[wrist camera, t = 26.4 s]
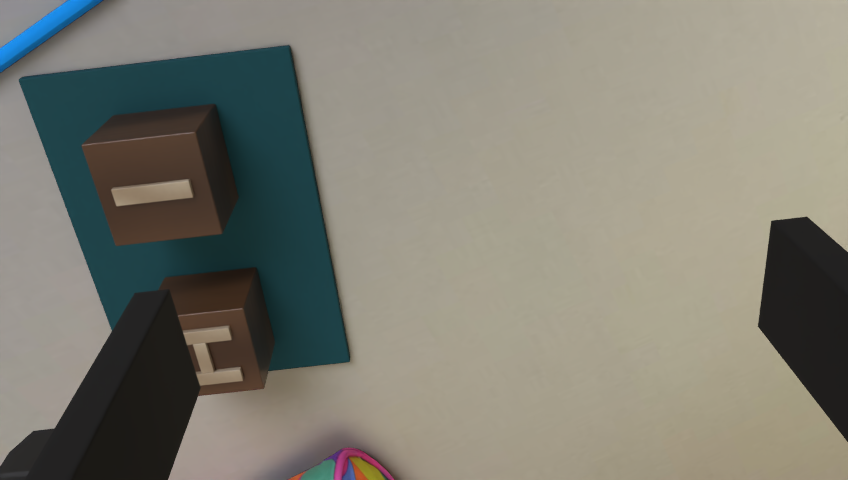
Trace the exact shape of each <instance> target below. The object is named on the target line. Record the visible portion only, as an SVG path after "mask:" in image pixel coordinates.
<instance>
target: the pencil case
mask: <svg viewBox="0 0 848 480" xmlns="http://www.w3.org/2000/svg"><path fill="white" fill-rule="evenodd" d="M288 480H394V478H393V477H392V476H391V475H390V473H389V472H388V471H387V470H386V469H385V468H384V467H382V466H381V465H380V464H379V463H378V462H377V461H376V460H374V459H373V458H371V457H370V456H369V455H367V454H366V453H364V452H363V451H361V450H358V449H355V448H343V449H341V450H339V451H338V452H336V453H335V454H333V455H332V456H330V457H328V458H327V459H325V460H324V461H323V462H321V463H319V464H318V465H316V466H314V467H312V468H311V469H308V470H306V471H304V472H302V473H300V474H298V475H295V476H293V477H291V478H289V479H288Z"/></svg>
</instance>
